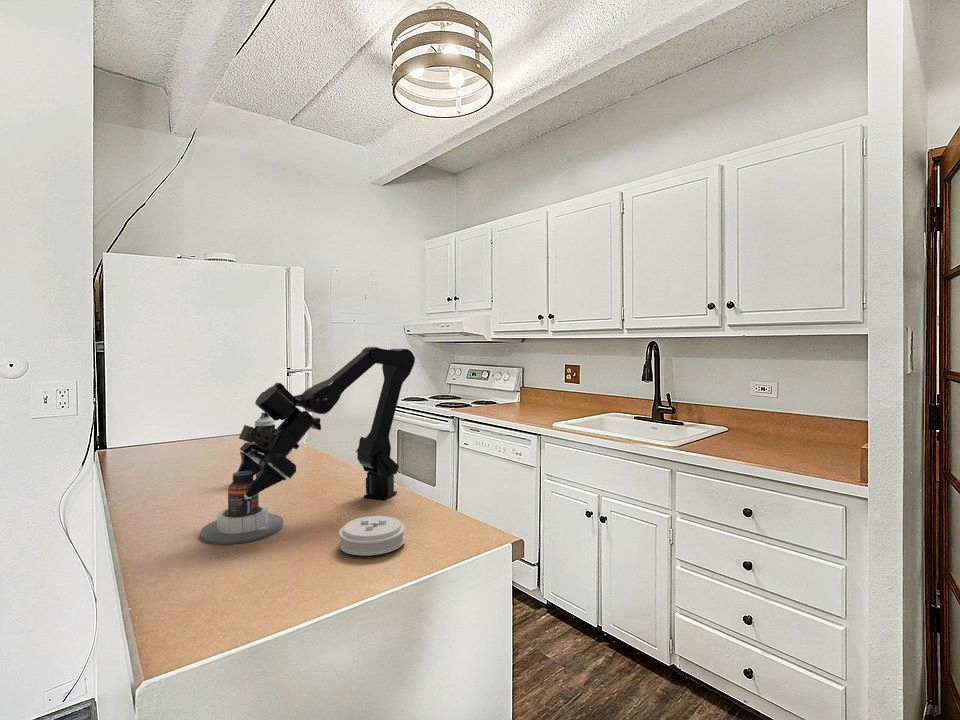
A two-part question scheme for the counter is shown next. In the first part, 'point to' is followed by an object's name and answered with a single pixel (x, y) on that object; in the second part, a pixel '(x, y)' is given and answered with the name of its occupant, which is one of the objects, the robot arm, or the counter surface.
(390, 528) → the lid
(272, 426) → the spray can
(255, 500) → the supplement bottle
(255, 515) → the ring mount
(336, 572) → the counter surface
